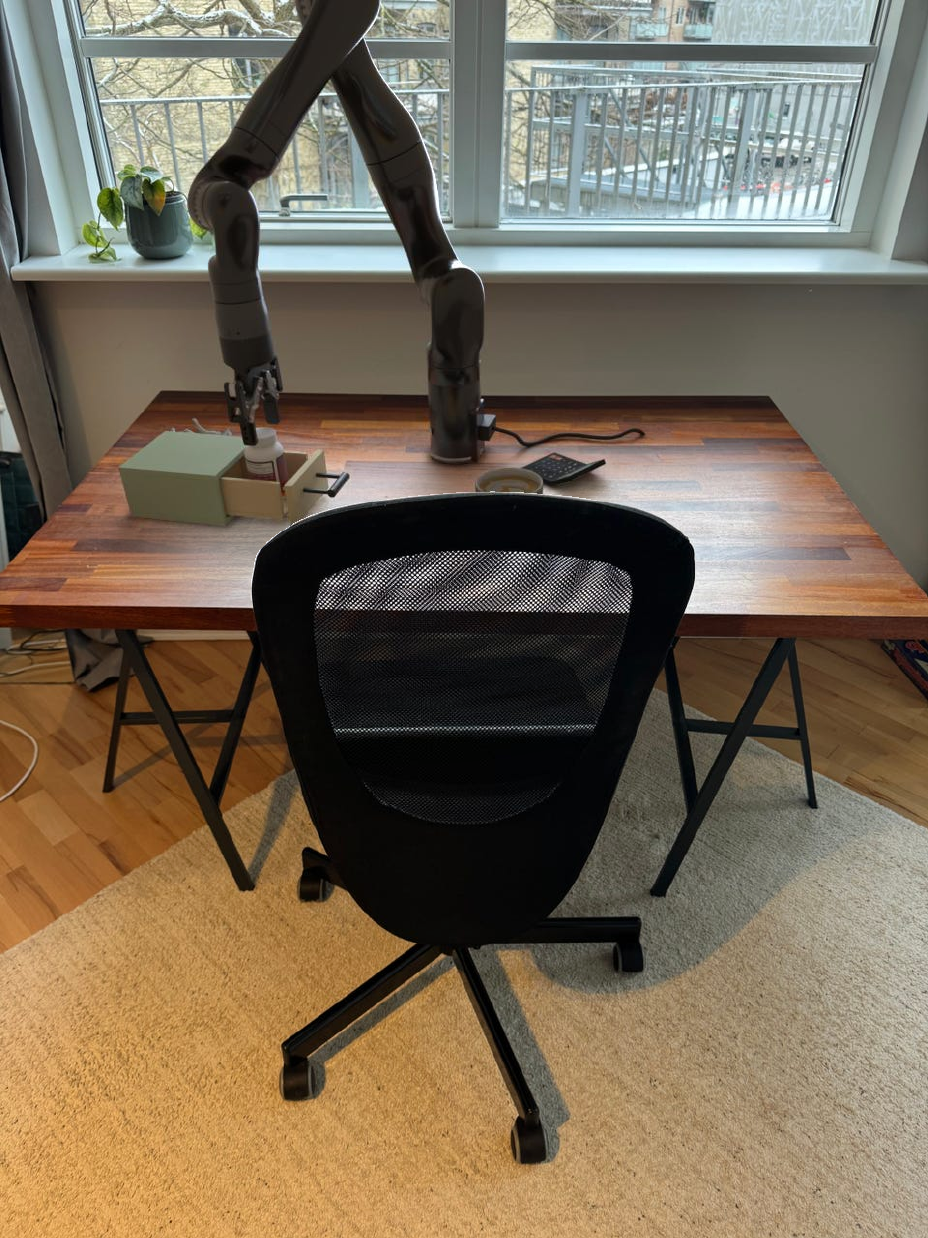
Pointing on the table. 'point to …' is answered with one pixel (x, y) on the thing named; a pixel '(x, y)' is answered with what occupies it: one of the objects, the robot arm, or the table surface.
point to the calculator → (561, 468)
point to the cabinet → (181, 477)
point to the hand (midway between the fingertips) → (262, 433)
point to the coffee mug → (509, 481)
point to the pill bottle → (267, 459)
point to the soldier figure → (227, 432)
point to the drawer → (267, 496)
